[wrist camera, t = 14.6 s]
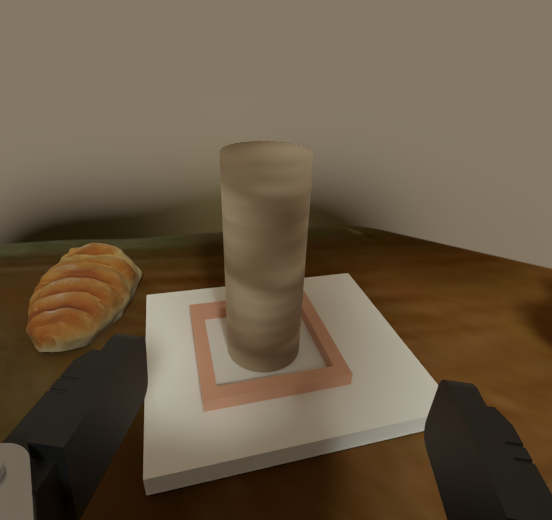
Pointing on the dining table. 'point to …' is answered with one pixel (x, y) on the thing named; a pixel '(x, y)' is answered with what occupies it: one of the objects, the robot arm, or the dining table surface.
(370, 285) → the dining table surface
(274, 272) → the maple pin
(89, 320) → the pastry
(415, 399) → the board
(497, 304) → the dining table surface
